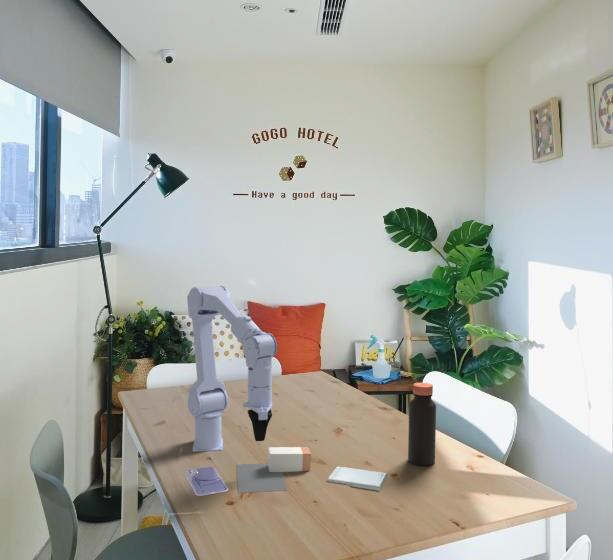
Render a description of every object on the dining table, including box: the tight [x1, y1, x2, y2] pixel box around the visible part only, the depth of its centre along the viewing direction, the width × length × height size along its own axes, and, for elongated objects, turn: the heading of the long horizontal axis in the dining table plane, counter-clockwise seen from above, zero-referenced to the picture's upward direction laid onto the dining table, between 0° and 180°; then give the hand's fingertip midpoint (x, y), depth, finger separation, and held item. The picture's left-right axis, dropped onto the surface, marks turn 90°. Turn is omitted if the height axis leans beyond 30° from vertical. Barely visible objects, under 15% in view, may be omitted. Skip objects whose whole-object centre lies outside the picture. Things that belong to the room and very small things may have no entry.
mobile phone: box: [183, 466, 229, 497], centre depth 131 cm, size 8×1×15 cm
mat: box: [236, 462, 288, 494], centre depth 133 cm, size 16×11×1 cm
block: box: [267, 446, 312, 473], centre depth 138 cm, size 4×4×10 cm
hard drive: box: [327, 466, 388, 492], centre depth 132 cm, size 2×8×12 cm
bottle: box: [407, 382, 437, 467], centre depth 143 cm, size 7×7×20 cm
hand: (259, 440), depth 135 cm, fingers closed
